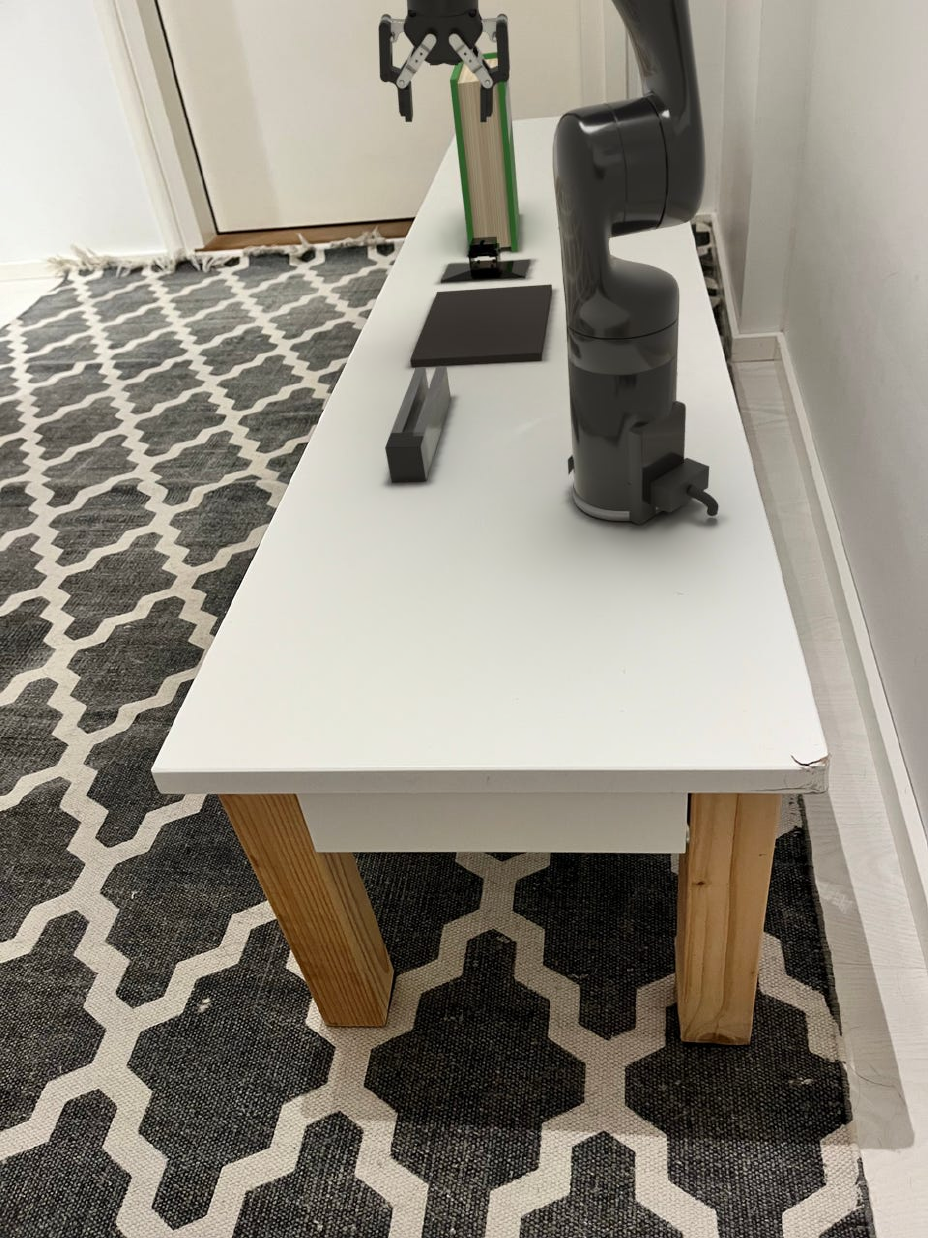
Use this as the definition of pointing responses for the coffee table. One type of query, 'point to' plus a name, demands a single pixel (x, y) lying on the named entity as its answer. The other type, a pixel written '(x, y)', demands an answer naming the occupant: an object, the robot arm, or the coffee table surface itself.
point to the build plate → (485, 264)
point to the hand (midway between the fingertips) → (446, 119)
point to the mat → (484, 326)
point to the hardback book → (486, 158)
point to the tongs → (418, 426)
